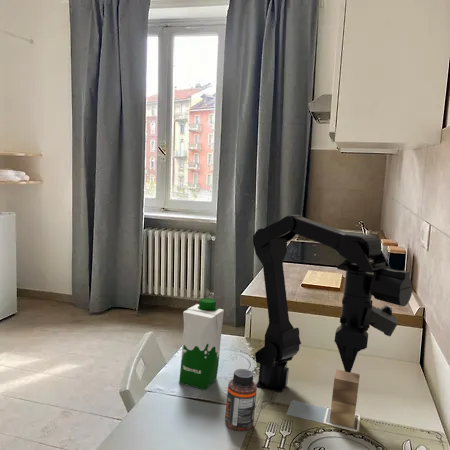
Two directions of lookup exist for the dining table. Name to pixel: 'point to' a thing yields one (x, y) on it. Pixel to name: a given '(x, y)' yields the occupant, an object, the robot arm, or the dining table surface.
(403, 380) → the dining table surface
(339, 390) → the walnut block
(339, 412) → the oak block
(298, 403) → the mat
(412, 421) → the dining table surface
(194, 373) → the milk carton
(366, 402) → the dining table surface
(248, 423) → the supplement bottle
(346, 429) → the outline
